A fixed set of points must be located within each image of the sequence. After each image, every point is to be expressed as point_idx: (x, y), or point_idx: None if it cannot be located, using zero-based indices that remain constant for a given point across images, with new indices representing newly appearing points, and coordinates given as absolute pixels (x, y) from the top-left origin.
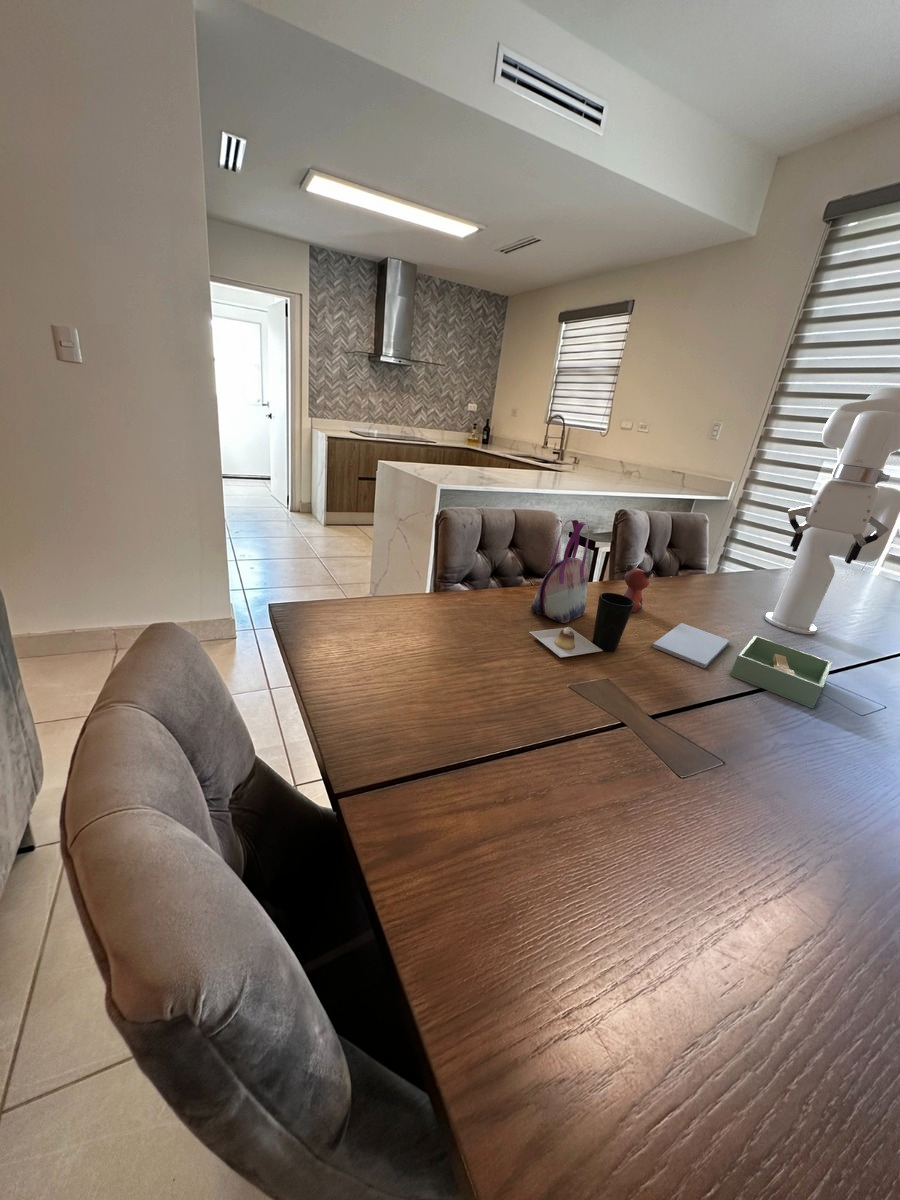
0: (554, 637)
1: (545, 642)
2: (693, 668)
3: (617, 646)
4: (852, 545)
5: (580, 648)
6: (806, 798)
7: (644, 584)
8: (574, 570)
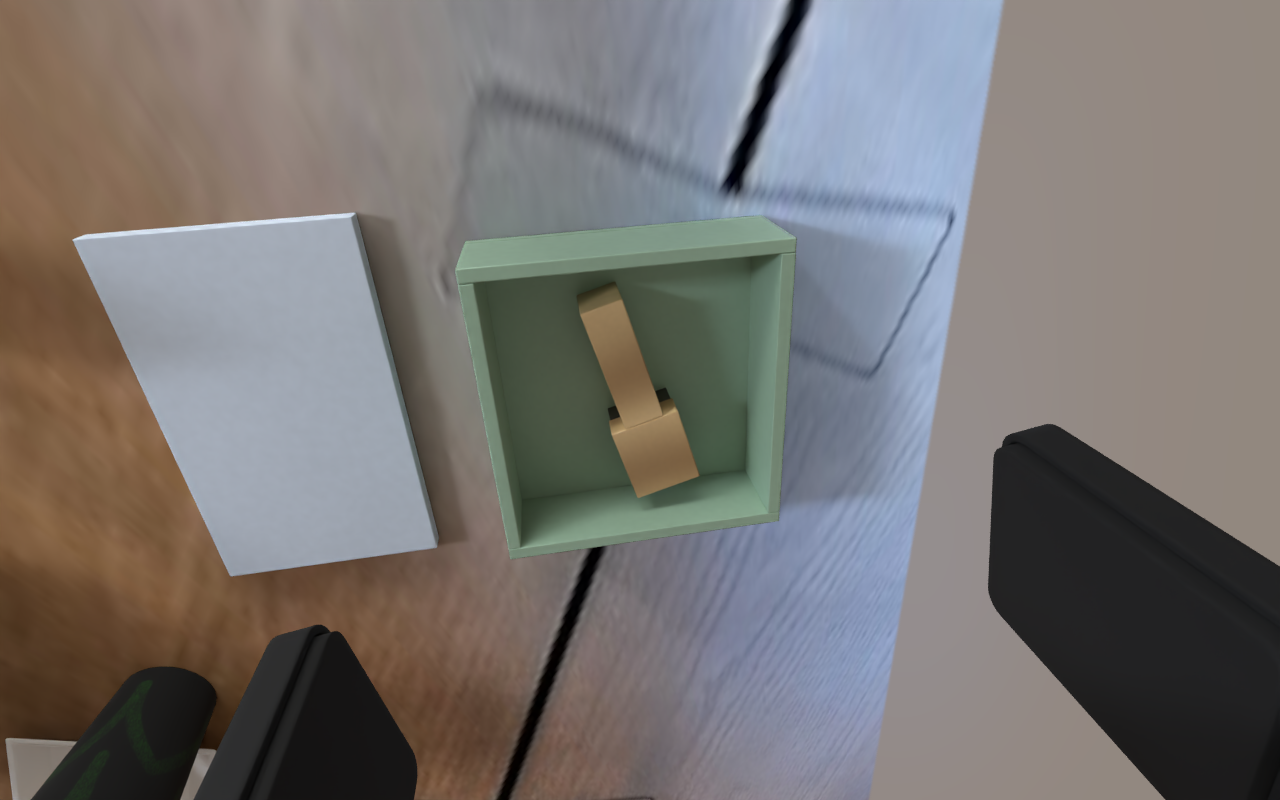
0: None
1: None
2: (419, 567)
3: (205, 698)
4: (1235, 730)
5: None
6: (774, 764)
7: None
8: None
